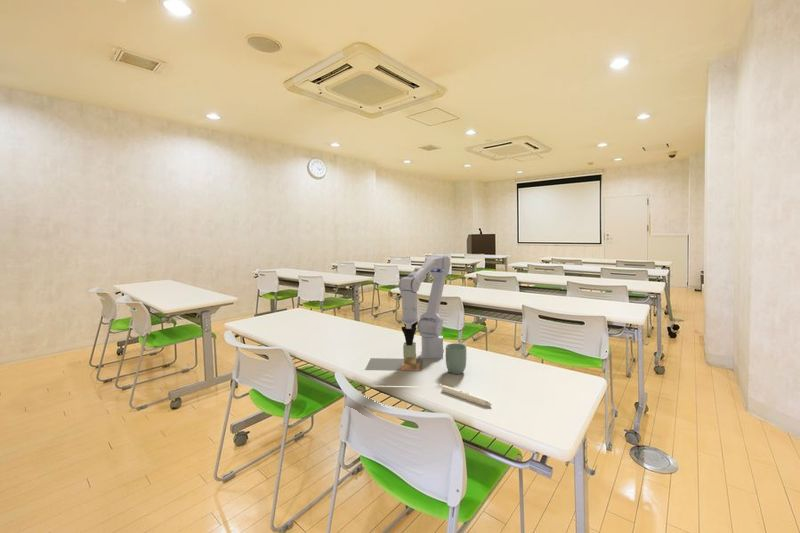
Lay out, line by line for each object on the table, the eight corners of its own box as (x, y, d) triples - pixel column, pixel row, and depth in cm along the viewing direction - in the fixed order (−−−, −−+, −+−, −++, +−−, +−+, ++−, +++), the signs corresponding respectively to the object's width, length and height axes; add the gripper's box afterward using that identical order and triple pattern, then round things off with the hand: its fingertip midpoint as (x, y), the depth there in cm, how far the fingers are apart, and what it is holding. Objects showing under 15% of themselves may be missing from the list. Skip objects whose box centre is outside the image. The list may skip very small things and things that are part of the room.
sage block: (415, 353, 142) (415, 342, 142) (415, 357, 138) (414, 345, 138) (404, 353, 143) (404, 342, 143) (403, 357, 138) (403, 345, 138)
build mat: (422, 360, 149) (422, 358, 149) (421, 372, 136) (421, 370, 136) (370, 359, 151) (370, 358, 151) (364, 371, 139) (364, 369, 139)
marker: (493, 407, 109) (493, 399, 108) (490, 409, 107) (490, 402, 107) (445, 390, 121) (445, 383, 121) (441, 392, 119) (441, 385, 119)
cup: (467, 369, 138) (467, 344, 138) (465, 377, 131) (465, 350, 130) (447, 367, 140) (447, 342, 140) (444, 375, 133) (444, 349, 132)
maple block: (416, 364, 143) (416, 353, 142) (415, 368, 138) (415, 357, 138) (405, 364, 143) (404, 353, 143) (404, 368, 139) (403, 357, 138)
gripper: (401, 304, 146) (401, 336, 147) (397, 311, 132) (398, 347, 133) (418, 304, 146) (418, 336, 147) (416, 311, 131) (417, 348, 132)
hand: (410, 342), depth 140 cm, fingers open, 7 cm apart
